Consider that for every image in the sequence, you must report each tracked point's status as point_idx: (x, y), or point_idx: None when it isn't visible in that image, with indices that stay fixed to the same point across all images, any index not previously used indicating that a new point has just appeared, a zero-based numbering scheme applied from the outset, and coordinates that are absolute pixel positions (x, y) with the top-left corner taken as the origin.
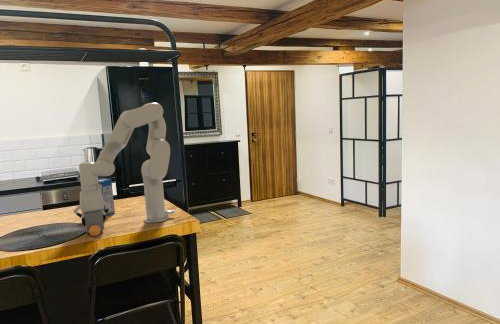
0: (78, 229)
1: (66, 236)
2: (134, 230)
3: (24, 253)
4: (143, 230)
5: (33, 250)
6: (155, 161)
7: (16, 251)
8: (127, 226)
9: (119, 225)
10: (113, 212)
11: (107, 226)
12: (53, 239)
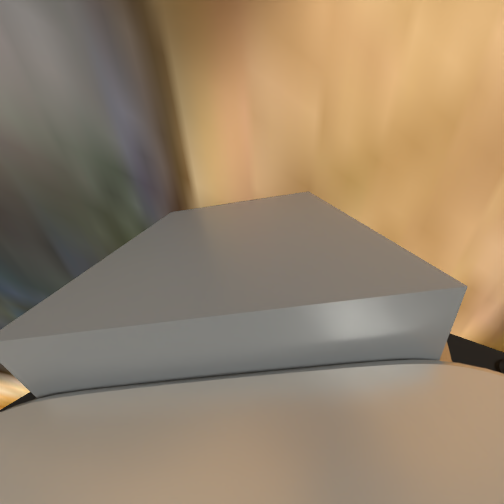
0: (88, 99)
1: (75, 262)
2: (456, 328)
3: (4, 398)
4: (489, 346)
5: (20, 385)
6: None
7: None
8: (468, 233)
9: (435, 169)
10: None
11: (343, 144)
12: (16, 284)
